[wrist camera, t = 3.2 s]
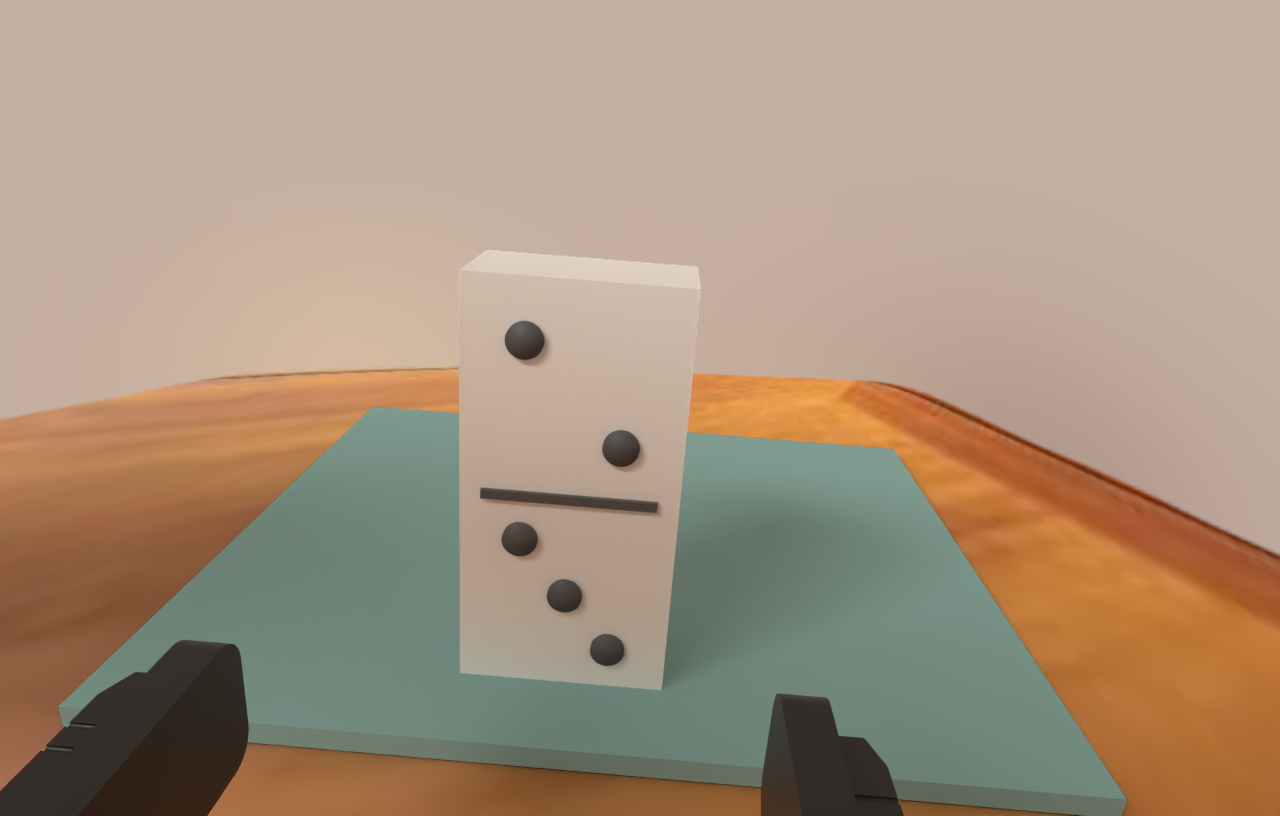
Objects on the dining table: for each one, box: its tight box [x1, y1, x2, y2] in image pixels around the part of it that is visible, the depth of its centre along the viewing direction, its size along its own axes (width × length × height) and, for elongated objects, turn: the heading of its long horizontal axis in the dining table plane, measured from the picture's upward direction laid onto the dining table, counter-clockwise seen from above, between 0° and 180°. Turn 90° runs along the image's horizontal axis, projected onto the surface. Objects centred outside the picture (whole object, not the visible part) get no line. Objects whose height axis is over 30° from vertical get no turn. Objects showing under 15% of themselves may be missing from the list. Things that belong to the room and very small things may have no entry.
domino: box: [459, 250, 701, 690], centre depth 21 cm, size 6×3×11 cm, turn 88°
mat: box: [58, 407, 1127, 816], centre depth 30 cm, size 26×22×1 cm
